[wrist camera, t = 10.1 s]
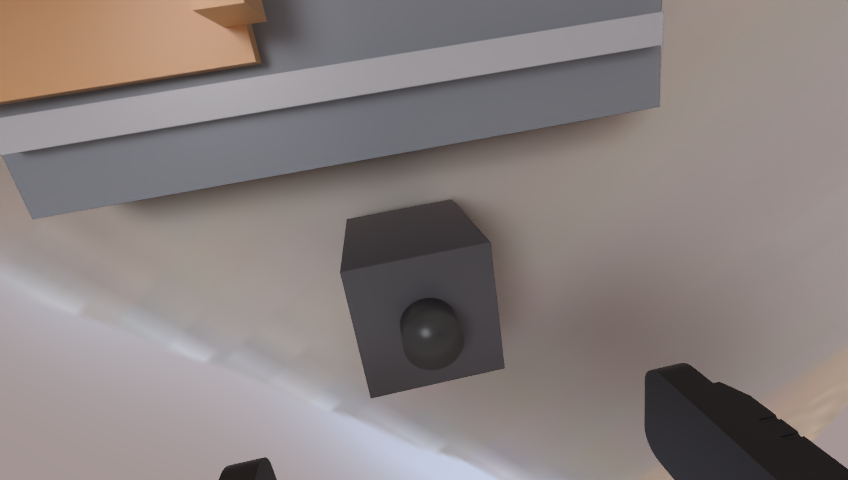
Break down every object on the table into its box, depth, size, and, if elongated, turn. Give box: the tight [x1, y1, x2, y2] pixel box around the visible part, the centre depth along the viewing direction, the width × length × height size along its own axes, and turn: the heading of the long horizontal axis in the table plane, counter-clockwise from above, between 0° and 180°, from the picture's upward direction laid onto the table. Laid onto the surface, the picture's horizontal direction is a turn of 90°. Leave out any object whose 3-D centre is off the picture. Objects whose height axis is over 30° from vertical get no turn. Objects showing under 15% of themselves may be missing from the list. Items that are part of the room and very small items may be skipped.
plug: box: [340, 200, 505, 398], centre depth 16 cm, size 5×5×8 cm
